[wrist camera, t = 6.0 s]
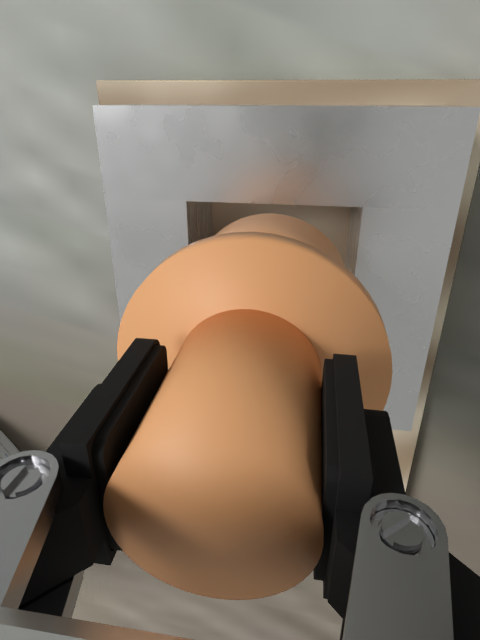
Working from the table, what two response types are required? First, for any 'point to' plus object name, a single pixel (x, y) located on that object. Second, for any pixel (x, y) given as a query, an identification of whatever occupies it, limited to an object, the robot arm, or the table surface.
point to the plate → (304, 189)
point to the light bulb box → (6, 447)
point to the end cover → (240, 407)
